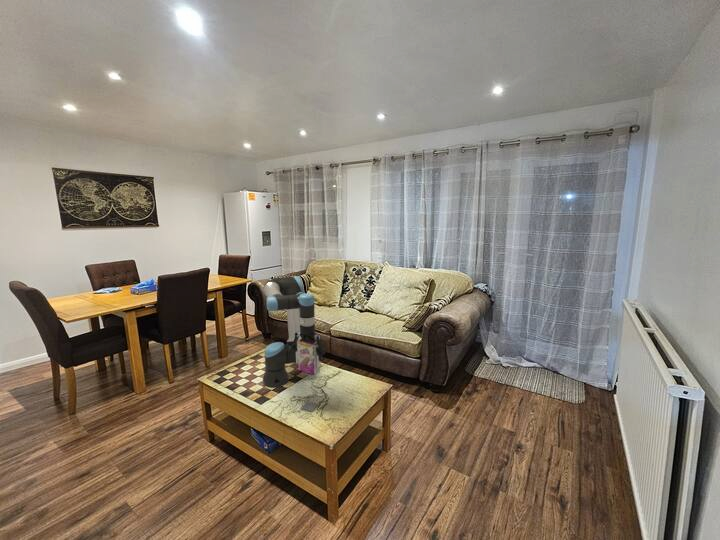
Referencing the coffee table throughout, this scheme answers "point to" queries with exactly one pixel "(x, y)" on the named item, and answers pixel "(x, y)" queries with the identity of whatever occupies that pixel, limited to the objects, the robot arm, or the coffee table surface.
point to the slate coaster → (309, 406)
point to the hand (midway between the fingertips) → (308, 364)
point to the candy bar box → (307, 357)
